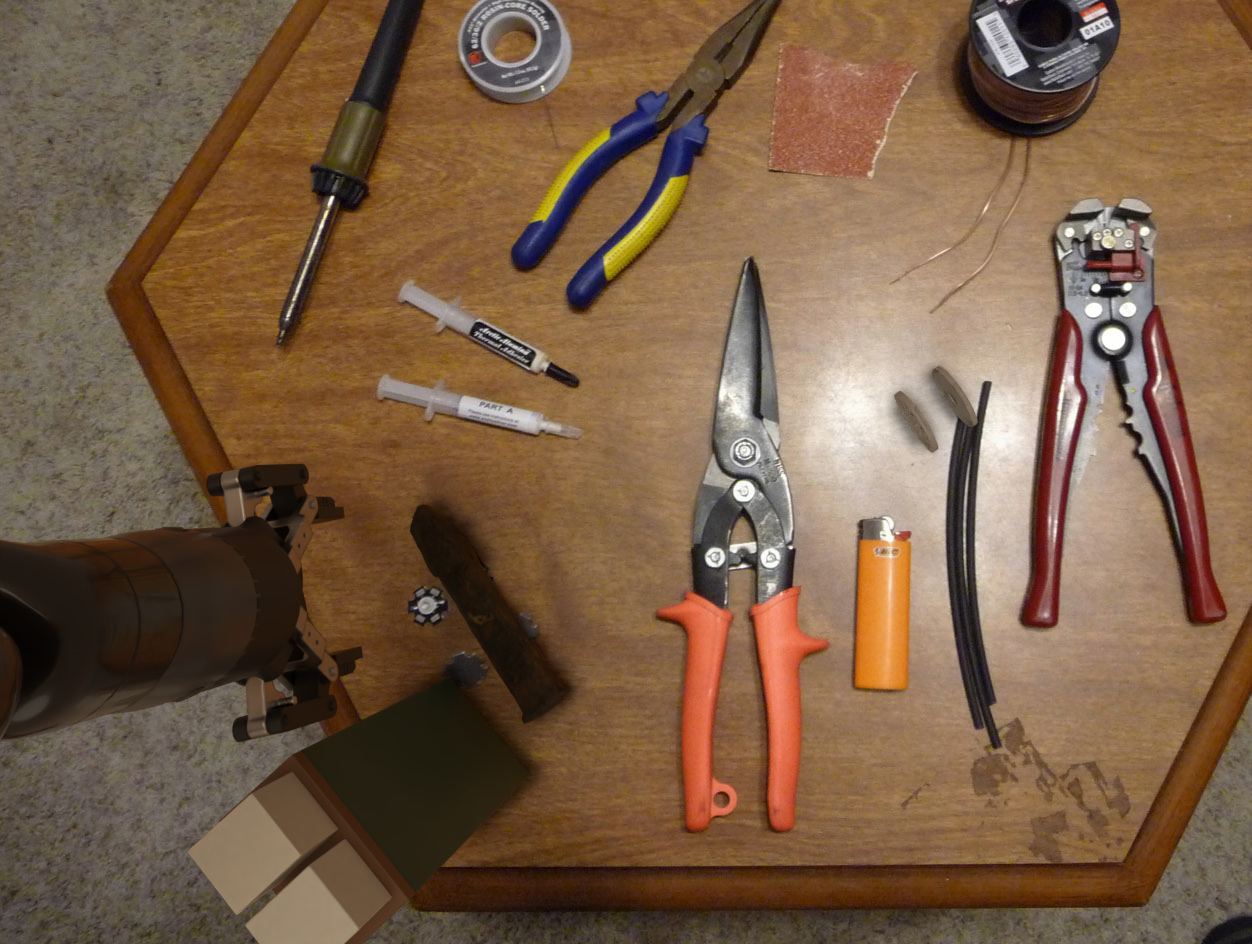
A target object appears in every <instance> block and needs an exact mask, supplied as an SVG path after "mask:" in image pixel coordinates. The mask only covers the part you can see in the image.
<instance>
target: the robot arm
mask: <svg viewBox="0 0 1252 944" xmlns="http://www.w3.org/2000/svg"><path fill="white" fill-rule="evenodd" d="M309 480H310V473H309V469H308V467H307V466H306V464H305V463H276V464H275V463H273V464H254V465H250V466H249V465H248V466H245V467H239V468H235V469H229V470H226V471H219V472H216V473H209V475H208V476H207V477H206V480H205V486H206V490H207V492H208V494H209V495H210V496H211V497H212V498H218V497H223V501H224V504H225V511H226V516H227V521H226V522H225V523H222V525H221V526H220V527H194V528H184V527H183V526H162V527H157V528H155V529H144V530H143V529H142V530H134V531H127V532H126V531H125V532H121V533H118V534H117V533H116V534H113V535H109V536H104V537H94V538H93V537H92V538H91V537H89V538H72V539H70V538H69V539H51V540H39V541H29V542H19V541H10V540H6V539H5V540H4V539H0V743H4V742H12V741H18V740H24V739H27V738H33V737H38V736H41V735H45V734H50V733H53V732H56V731H58V730H62V729H66V728H68V727H72V726H74V725H78V724H81V723H85V722H88V721H92V720H95V719H97V718H98V719H99V718H101V717H104V716H108V715H109V716H110V715H113V714H125V713H133V712H138V711H144V710H148V709H152V708H156V707H158V706H161V705H165V704H168V703H172V704H173V703H180V702H183V701H186V700H188V699H190V698H193V697H195V696H197V695H199V694H200V693H201V694H202V693H204V692H207V691H210V690H213V689H216V688H220V687H223V686H226V685H229V684H233V683H235V684H237V685H239V686H242V687H245V697H246V714H245V715H241V716H238V717H236V718H235V719H234V720H233V722H232V727H231V734H232V737H233V740H234V741H235V742H236V743H242V742H247V741H251V740H256V739H260V738H266V737H270V736H274V735H279V734H283V733H288V732H292V731H294V730H297V729H301V728H304V727H308V726H310V725H313V724H317V723H319V722H322V721H326V720H328V719H332V718H334V717H335V716H336V715H337V712H338V701H337V698H336V696H335V695H334V694H330V688H331V684H332V683H336V682H337V681H338V679H340V678H342V677H343V678H344V677H345V676H348V675H350V674H353V673H354V671H355V670H356V669H357V665H356V661H357V660H360V659H363V658H364V655H363V654H364V653H363V647H362V645H360V646H355V647H350V648H345V649H340V650H335V651H331V652H327V651H326V649H327V644H328V641H327V639H326V638H325V637H324V635H323V634H322V633H321V632H320V631H319V630H318V629H317V628H316V627H315V625H314V624H312V622H311V621H310V620H309V613H308V606H307V601H306V598H305V594H304V574H303V563H302V561H301V560H302V558H303V556H304V555H305V553H306V551H307V549H308V547H309V544H310V543H311V541H312V538H314V537H313V536H314V534H315V532H314V531H313V528H312V527H311V526H312V525H318V524H324V523H329V522H333V521H337V520H343V519H345V518H346V514H345V508H344V507H345V506H336V501H335V499H334V498H332V497H331V496H315V495H314V494H309V493H308V492H307V491H306V487H305V486H304V485H307V484H308V483H309ZM268 496H269V499H270V502H268V503H267V505H266V506H265V508H264V510H263V511H262V513H261V514H260V516H256V513H255V512H256V508H257V507H258V506H259V505H261V504H262V503H263V501H264V497H268ZM275 680H277V681H278V682H279V683H280V684H281V685H282V686H284V688H285V689H286V690H287V691H289V692H292V695H290V696H286V694H285V692H283V691H280V690H277V688H276V686H275V683H274V681H275Z"/></svg>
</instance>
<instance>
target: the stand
mask: <svg viewBox="0 0 1252 944" xmlns="http://www.w3.org/2000/svg"><path fill="white" fill-rule="evenodd" d="M290 772H293V773H294V774H295V775H296V776H297V778H298V779H299V780H300V781H301V783H302V784H303V785H304V786H305V788H306V789H307V790H308V791H309V793H310V794H311V795H312V796H313V798H314V799H315V800H316V801H317V803H318V804H319V805H320V806H321V808H322V809H323V810H324V811H325V813H326V814H327V815H328V816H329V818H330V819H331V820H332V821H333V823H334V824H335V825H336V826H337V828H338V830H337V831H336V832H335V833H334V834H333V835H332V836H330V837H329V838H328V839H327V840H326V841H325V842H324V843H323V844H322V845H321V846H320V847H319V848H318V849H316V850H315V851H314V852H313V853H312V854H311V855H310V856H309V857H308V858H307V859H306V860H305V861H304V862H302V863H301V864H300V865H299V866H298V867H297V868H296V869H295V870H294V871H293V872H292V873H291V874H290V875H288V876H287V877H286V878H285V879H284V880H283V881H282V882H281V883H280V884H278V885H277V886H276V887H274V888H273V889H272V890H271V891H272V892H273V893H274V894H275V896H276V895H277V894H278V893H279V892H281V891H282V890H283V889H284V888H285V887H286V886H287V885H288V884H289V883H290V882H291V881H292V880H293V879H295V878H296V877H297V876H298V875H299V874H300V873H301V872H302V871H303V870H304V869H305V868H306V867H307V866H309V865H310V864H311V863H313V862H314V861H315V860H317V859H318V858H319V857H321V856H322V855H323V854H325V853H326V852H327V851H329V850H330V849H332V848H333V847H334V846H336V845H337V844H338V843H340V842H341V841H342V840H344V839H347V841H348V842H349V843H350V844H351V846H352V847H353V848H354V849H355V851H356V852H357V853H358V854H359V856H360V857H361V858H362V859H363V861H364V862H365V863H366V864H367V866H368V867H369V868H370V869H371V871H372V872H373V873H374V874H375V876H376V877H377V878H378V879H379V881H380V882H381V883H382V884H383V886H384V887H385V888H386V889H387V891H388V892H389V893H390V894H391V896H392V898H391V899H390V900H389V901H388V902H387V903H386V904H385V905H384V906H383V907H382V908H381V909H380V910H379V911H378V912H377V913H376V914H375V915H374V916H373V917H372V918H371V919H370V920H369V921H368V922H367V923H366V924H365V925H364V926H363V927H362V928H361V929H360V930H358V931H357V932H356V933H355V934H354V935H353V936H352V937H351V938H350V939H349V940H348V941H347V942H346V943H345V944H364V943H365V942H366V941H367V940H369V938H371V937H372V936H373V935H374V934H375V933H376V932H377V931H378V930H379V929H380V928H381V927H382V926H383V925H384V924H386V923H387V921H389V920H390V919H391V918H392V917H393V916H394V915H395V914H396V913H397V912H398V911H399V910H401V908H402V907H404V905H406V904H407V902H409V901H410V899H412V897H414V895H416V893H417V892H418V891H419V890H421V888H422V887H423V886H424V885H425V884H426V883H427V882H428V881H429V880H430V879H431V878H432V877H433V876H434V875H435V874H436V872H438V871H439V870H440V868H442V867H443V866H444V865H445V863H447V862H448V860H450V858H451V857H453V855H454V854H456V853H457V851H458V850H459V849H460V848H461V847H462V846H463V845H464V844H465V843H466V842H467V841H468V840H469V839H470V838H471V837H472V836H473V835H474V834H475V833H476V832H477V831H478V830H479V829H480V827H481V826H482V825H483V824H485V823H486V822H487V820H488V819H489V818H490V817H491V816H492V815H493V814H494V813H495V812H496V811H497V810H499V808H500V807H501V806H502V805H503V804H504V803H505V802H506V801H507V800H508V799H509V798H510V797H511V796H512V795H513V794H514V792H516V791H517V789H518V788H519V787H521V786H522V785H523V783H524V782H525V781H527V779H528V778H529V777H530V776H531V773H530V771H528V769H527V768H526V766H525V765H524V764H523V763H522V762H521V760H519V758H518V757H517V756H516V754H515V753H514V752H513V751H512V750H511V749H510V747H509V746H508V745H507V744H506V743H505V741H504V740H503V739H502V738H501V736H499V734H498V733H497V732H496V731H495V730H494V728H493V727H492V726H491V725H490V724H489V722H488V721H487V720H486V719H485V718H484V716H483V715H482V714H481V713H480V712H479V710H478V709H477V708H476V707H475V706H474V705H473V704H472V702H471V701H470V700H469V699H468V697H467V696H466V695H465V694H464V692H462V690H461V689H460V688H459V687H458V686H457V684H456V683H455V682H454V681H453V679H452V678H451V677H450V676H447V677H445V678H443V679H442V680H439V681H438V682H435V683H433V684H431V685H429V686H427V687H425V688H423V689H421V690H419V691H417V692H415V693H413V694H411V695H409V696H407V697H404V698H403V699H401V700H399V701H397V702H395V703H393V704H391V705H389V706H387V707H385V708H382V709H381V710H379V711H377V712H375V713H372V714H371V715H369V716H367V717H365V718H363V719H361V720H359V721H356V722H355V723H353V724H350V725H349V726H347V727H344V728H343V729H340V730H338V731H337V732H335V733H333V734H331V735H329V736H327V737H325V738H322V739H321V740H319V741H317V742H315V743H313V744H311V745H309V746H307V747H305V748H303V749H300V750H299V751H297V752H294V753H292V754H291V755H290V756H289V757H288V758H286V760H284V761H283V762H282V763H281V764H280V765H279V766H278V767H277V768H276V769H274V770H273V771H272V772H271V773H270V774H269V775H268V776H267V777H266V778H264V779H263V780H262V781H261V782H260V783H259V784H258V785H256V786H255V788H254V789H253V790H251V791H250V792H249V793H248V794H247V795H246V796H244V797H243V799H242V800H240V801H239V802H238V803H237V804H236V805H235V806H234V807H232V809H230V810H229V811H228V812H227V813H226V814H225V815H223V817H222V818H221V819H219V822H220V821H221V820H222V819H223V818H225V817H226V816H227V815H228V814H229V813H230V812H231V811H232V810H233V809H234V808H236V807H237V806H238V805H239V804H240V803H241V802H242V801H243V800H244V799H245V798H247V797H248V796H249V795H250V794H251V793H253V792H255V791H256V790H258V789H260V788H262V787H264V786H266V785H268V784H270V783H271V782H273V781H275V780H277V779H279V778H281V777H283V776H285V775H287V774H288V773H290ZM219 822H218V823H219Z"/></svg>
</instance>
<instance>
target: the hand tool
mask: <svg viewBox="0 0 1252 944" xmlns="http://www.w3.org/2000/svg"><path fill="white" fill-rule="evenodd" d="M409 534H411V536H412V539H413V540H414V543H415V545H416V547H417V549H418V550H419V552H420V554H421V557H422V558H423V561H424V563H425V565H426V567H427V569H428V571H429V572H430V574H431V575H432V576H433V578H437V579H439V581H440V582H441V585H442V586H443V588H444V590H445V591H446V592H447V593H448V595H449V597H451V599H452V601H453V602H454V604H455V605H456V608H457V609H458V612H459V613H460V614H461V616H462V617H463V619H464V621H465V623H466V624H467V626H468V628H469V630H470V632H471V633H472V635H473V636H474V638H475V639H476V641H477V642H478V644H479V646H480V647H481V649H482V651H483V652H484V653H485V655H486V657H487V658H488V660H489V662H490V663H491V665H492V666H493V668H494V669H495V671H496V674H497V675H498V677H499V678H500V680H501V681H502V682H503V684H504V685H505V687H506V689H508V691H509V693H510V694H511V696H512V698H513V699H514V700H515V702H516V704H517V706H518V707H519V709H520V712H521V713H522V714H521V722H522V724H524V725H525V724H529V723H530V722H533V721H534V720H536V719H539V718H540V717H542V716H544V715H545V714H546V713H548V712H550V711H551V710H553V709H554V708H556V707H557V706H558V705H559V704H560V703H561V702H563V701H564V700H565V697H566V696H568V693H569V692H570V688H569V687H568V686H567V685H565V684H564V685H563V684H561V683H560V680H559V676H558V674H557V671H556V670H555V669H552V668H551V667H550V666H549V665H548V663H547V661H546V659H545V658H544V656H543V655H542V651H541V650H540V648H539V647H538V646H537V644H536V642H535V641H534V639H533V638H532V637H531V636H529V635H528V633H527V632H526V631H525V628H524V627H523V625H522V623H521V621H520V619H519V618H518V616H517V615H516V614H515V613H514V611H513V609H512V608H511V607H510V606H509V604H508V602H507V601H506V599H505V598H504V597H503V595H502V594H501V592H500V591H499V589H498V588H497V586H496V583H494V581H493V580H492V578H491V577H490V575H489V574H488V572H487V571H486V569H485V568H484V566H483V565H482V563H481V562H480V560H479V557H478V556H477V555H478V552H477V551H476V550H475V548H474V546H472V544H471V543H470V542H469V541H468V540H467V539H466V537H465V536H464V535H463V534H462V533H461V532H460V531H459V530H458V529H457V528H455V526H454V525H453V524H451V522H449V520H447V519H446V518H445V517H444V516H443V515H441V514H440V513H439V512H438V511H437V510H435V508H433V507H432V506H429V505H427V504H419V505H418V506H416V509H415V511H414V512H413V515H412V518H411V522H410V525H409Z"/></svg>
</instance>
